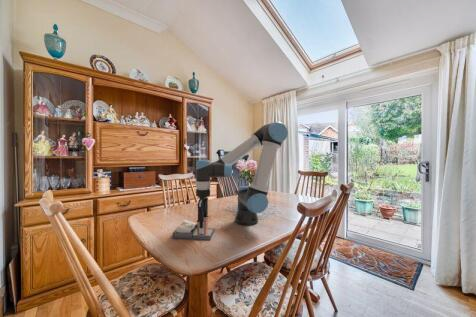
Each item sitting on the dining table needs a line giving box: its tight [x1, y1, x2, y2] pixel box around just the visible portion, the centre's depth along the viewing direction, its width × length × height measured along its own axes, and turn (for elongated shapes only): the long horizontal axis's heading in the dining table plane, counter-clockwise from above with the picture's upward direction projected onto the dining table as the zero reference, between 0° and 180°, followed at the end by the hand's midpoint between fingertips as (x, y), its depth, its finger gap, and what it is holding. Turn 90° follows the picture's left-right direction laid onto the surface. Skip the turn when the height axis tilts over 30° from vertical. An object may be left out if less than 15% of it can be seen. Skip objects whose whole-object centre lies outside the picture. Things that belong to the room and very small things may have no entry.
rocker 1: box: [175, 224, 192, 233], centre depth 105 cm, size 7×3×3 cm, turn 86°
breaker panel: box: [171, 223, 216, 241], centre depth 109 cm, size 20×13×3 cm, turn 86°
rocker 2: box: [181, 219, 197, 229], centre depth 113 cm, size 7×3×3 cm, turn 86°
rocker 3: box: [180, 223, 194, 230], centre depth 109 cm, size 7×3×3 cm, turn 86°
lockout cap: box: [196, 217, 209, 234], centre depth 109 cm, size 5×5×7 cm
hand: (202, 231), depth 109 cm, fingers closed on lockout cap, 5 cm apart
